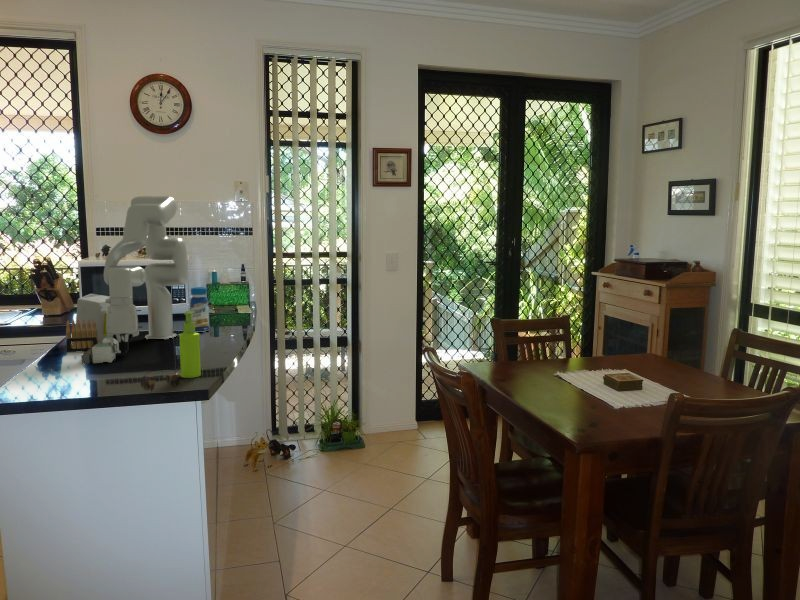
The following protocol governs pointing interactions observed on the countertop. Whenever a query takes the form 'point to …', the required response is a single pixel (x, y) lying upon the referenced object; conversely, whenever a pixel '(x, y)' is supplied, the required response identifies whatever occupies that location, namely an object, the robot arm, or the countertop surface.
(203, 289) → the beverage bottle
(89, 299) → the electrical switch box
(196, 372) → the soap dispenser
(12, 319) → the countertop surface
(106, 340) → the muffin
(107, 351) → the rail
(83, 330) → the ammunition clip
